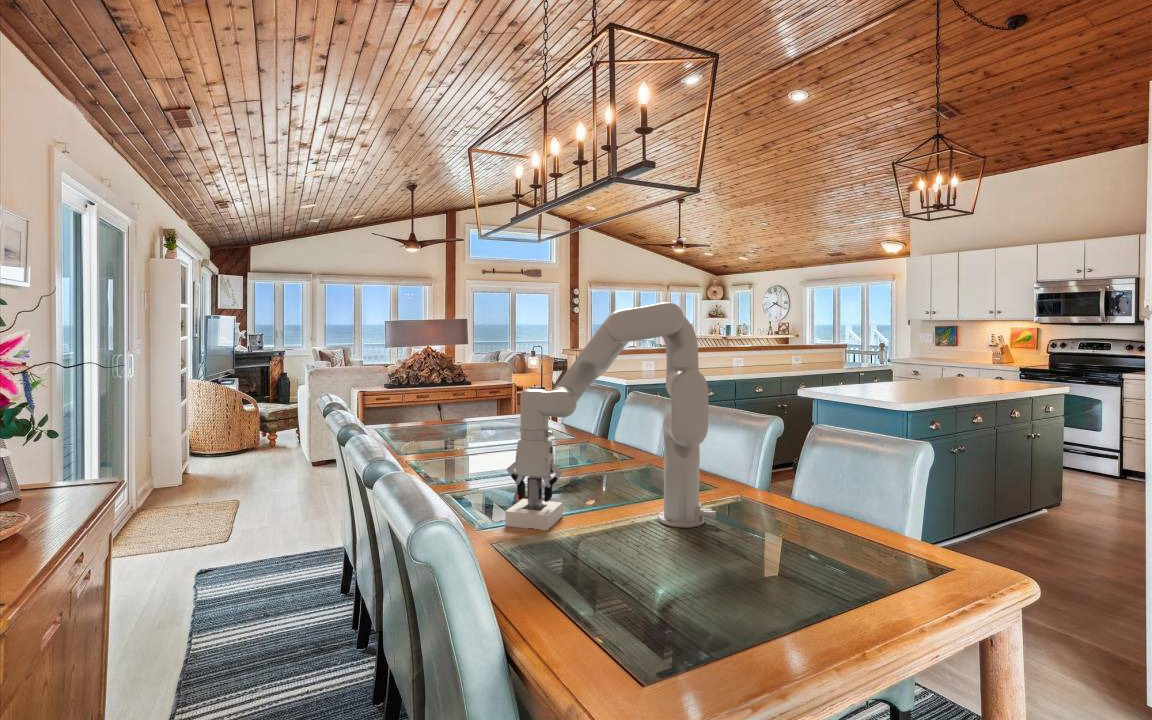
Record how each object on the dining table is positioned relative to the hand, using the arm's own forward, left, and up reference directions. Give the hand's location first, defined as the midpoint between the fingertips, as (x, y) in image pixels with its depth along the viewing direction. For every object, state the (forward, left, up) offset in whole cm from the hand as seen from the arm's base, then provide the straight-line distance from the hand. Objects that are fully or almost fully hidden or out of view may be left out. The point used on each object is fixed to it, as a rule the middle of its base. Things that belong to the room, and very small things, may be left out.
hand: (534, 498), depth 163 cm
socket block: (0, 0, -6) cm, 6 cm away
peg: (0, 0, -6) cm, 6 cm away
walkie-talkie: (+9, -17, -7) cm, 20 cm away
